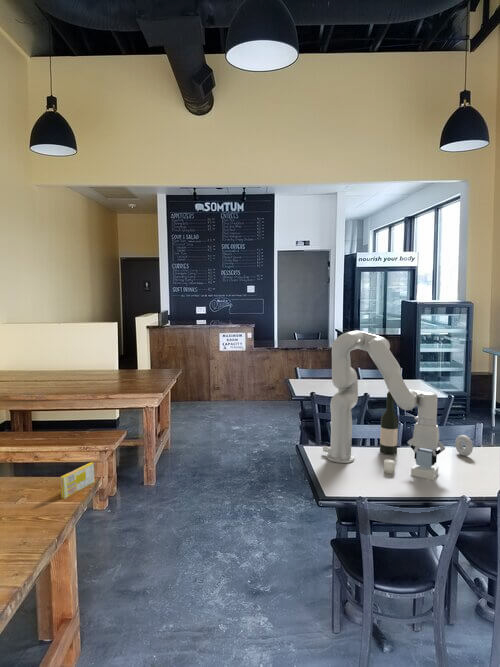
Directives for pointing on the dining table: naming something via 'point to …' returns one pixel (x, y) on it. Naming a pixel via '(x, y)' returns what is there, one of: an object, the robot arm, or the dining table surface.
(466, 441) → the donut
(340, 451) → the robot arm
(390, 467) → the cream cap
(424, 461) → the slate cube
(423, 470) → the plinth
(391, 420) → the wine bottle
